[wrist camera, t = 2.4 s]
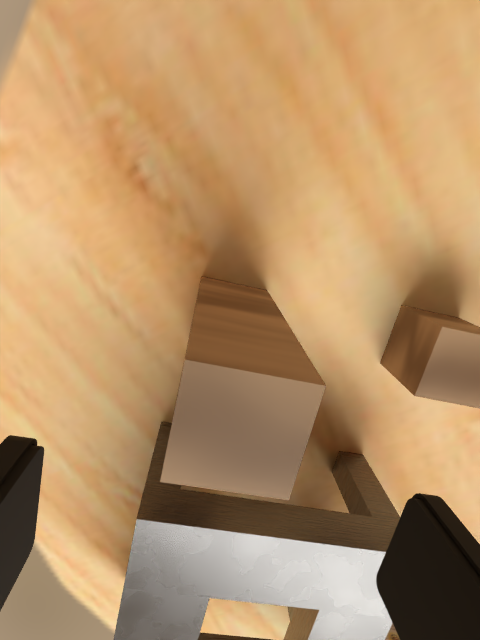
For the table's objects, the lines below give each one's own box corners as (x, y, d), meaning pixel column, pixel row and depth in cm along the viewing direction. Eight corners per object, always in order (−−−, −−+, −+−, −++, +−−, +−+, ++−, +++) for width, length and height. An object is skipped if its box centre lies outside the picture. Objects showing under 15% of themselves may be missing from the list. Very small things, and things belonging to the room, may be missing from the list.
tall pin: (201, 276, 25) (185, 359, 11) (267, 290, 25) (325, 386, 12) (188, 339, 26) (160, 482, 12) (251, 351, 26) (289, 500, 13)
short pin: (400, 304, 26) (442, 326, 21) (458, 317, 27) (511, 341, 22) (380, 362, 27) (414, 395, 23) (435, 374, 28) (480, 408, 23)
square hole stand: (161, 421, 28) (136, 518, 19) (363, 455, 29) (423, 557, 21) (129, 582, 32) (97, 722, 23) (307, 602, 34) (338, 737, 25)
